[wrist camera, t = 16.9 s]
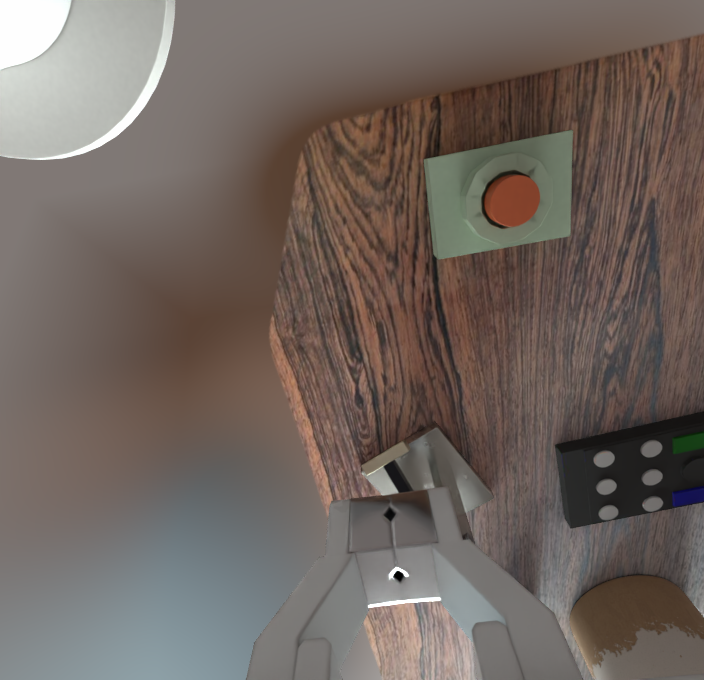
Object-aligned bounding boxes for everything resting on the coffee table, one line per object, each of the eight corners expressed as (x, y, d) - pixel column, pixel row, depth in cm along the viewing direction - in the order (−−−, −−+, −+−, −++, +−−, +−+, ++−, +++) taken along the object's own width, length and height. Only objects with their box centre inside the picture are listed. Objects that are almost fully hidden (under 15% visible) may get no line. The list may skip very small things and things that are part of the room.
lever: (365, 461, 41) (358, 467, 39) (406, 437, 40) (401, 442, 38) (430, 573, 39) (427, 586, 37) (476, 551, 38) (475, 563, 35)
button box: (433, 254, 37) (441, 264, 33) (423, 159, 34) (431, 158, 30) (558, 232, 36) (581, 239, 32) (559, 132, 33) (585, 127, 29)
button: (484, 227, 32) (491, 230, 31) (482, 179, 31) (489, 180, 29) (531, 219, 32) (540, 221, 30) (530, 170, 31) (540, 170, 29)
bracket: (360, 465, 46) (361, 557, 35) (435, 420, 44) (460, 504, 33) (419, 528, 50) (436, 629, 39) (491, 490, 47) (531, 587, 36)
